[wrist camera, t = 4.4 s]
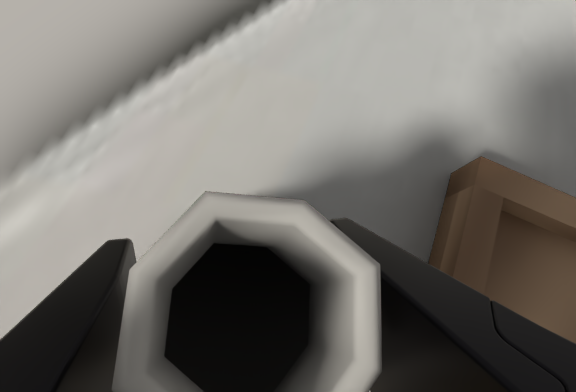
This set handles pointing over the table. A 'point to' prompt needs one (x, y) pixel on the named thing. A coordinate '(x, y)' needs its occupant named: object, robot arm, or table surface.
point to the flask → (251, 304)
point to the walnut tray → (511, 243)
